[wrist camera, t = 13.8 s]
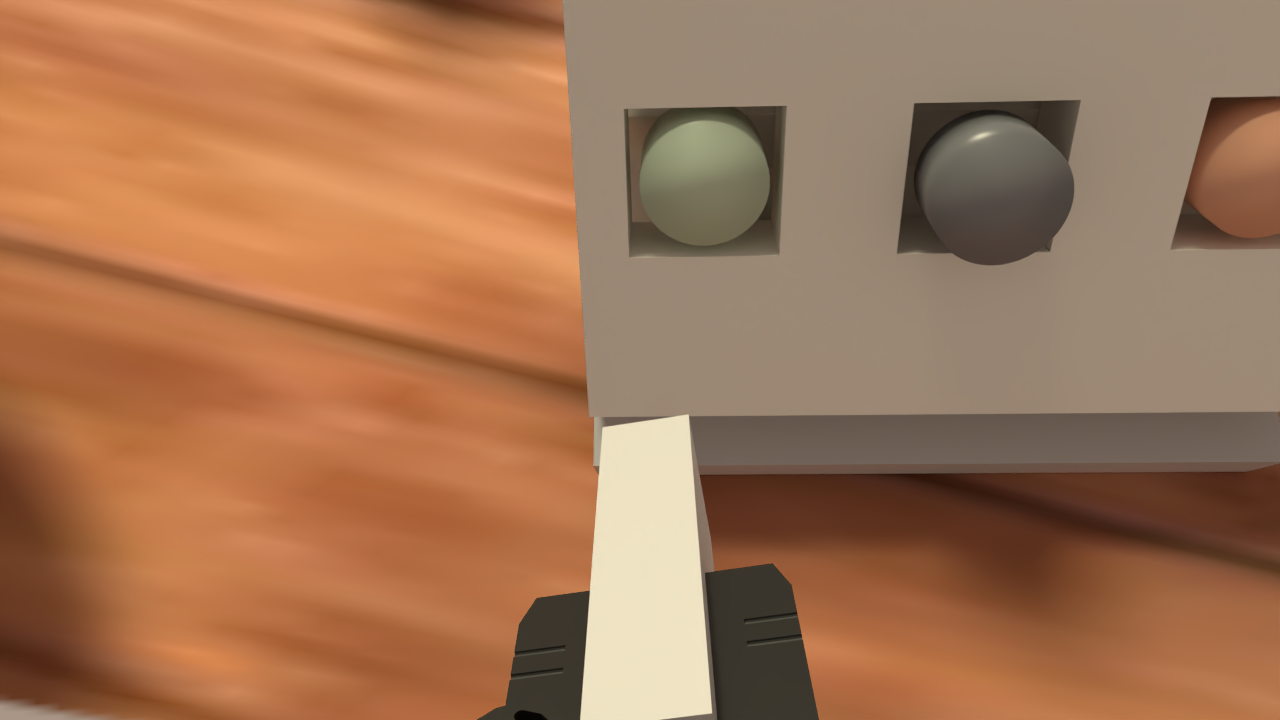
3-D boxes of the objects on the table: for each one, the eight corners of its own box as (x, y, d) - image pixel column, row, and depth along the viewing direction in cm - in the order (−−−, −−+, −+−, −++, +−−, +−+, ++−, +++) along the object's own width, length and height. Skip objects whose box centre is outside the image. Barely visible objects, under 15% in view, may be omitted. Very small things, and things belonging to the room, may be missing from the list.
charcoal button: (910, 284, 31) (949, 230, 26) (900, 154, 32) (936, 80, 27) (1039, 283, 30) (1099, 228, 26) (1024, 152, 32) (1080, 77, 27)
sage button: (642, 265, 32) (637, 210, 28) (642, 142, 34) (637, 71, 29) (763, 263, 32) (776, 208, 28) (758, 140, 33) (770, 68, 29)
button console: (598, 475, 38) (542, 375, 22) (603, 86, 43) (557, -232, 27) (1247, 471, 37) (1676, 364, 21) (1183, 75, 42) (1500, -263, 26)
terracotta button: (1160, 258, 32) (1237, 201, 27) (1142, 133, 33) (1213, 59, 29) (1285, 256, 32) (1383, 199, 27) (1262, 131, 33) (1352, 56, 28)
